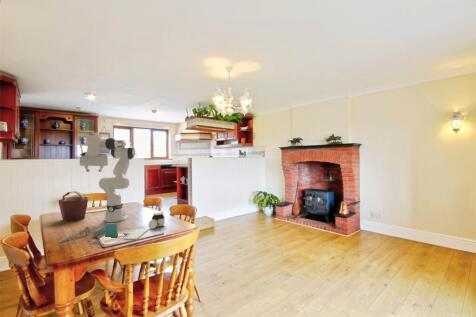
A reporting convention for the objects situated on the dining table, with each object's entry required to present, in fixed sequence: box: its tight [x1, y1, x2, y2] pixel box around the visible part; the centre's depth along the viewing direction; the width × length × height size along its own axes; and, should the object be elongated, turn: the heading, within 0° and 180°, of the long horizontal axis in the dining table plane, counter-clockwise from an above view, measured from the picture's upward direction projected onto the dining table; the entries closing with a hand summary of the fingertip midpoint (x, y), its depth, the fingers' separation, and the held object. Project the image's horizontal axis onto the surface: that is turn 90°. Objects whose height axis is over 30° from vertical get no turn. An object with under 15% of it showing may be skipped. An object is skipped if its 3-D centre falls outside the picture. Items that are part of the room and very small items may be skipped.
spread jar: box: [148, 211, 166, 230], centre depth 194 cm, size 12×11×12 cm
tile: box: [104, 222, 119, 238], centre depth 168 cm, size 2×8×10 cm, turn 90°
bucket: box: [58, 191, 89, 222], centre depth 218 cm, size 24×22×25 cm
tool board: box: [123, 228, 149, 241], centre depth 174 cm, size 20×9×1 cm, turn 0°
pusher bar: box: [92, 224, 105, 238], centre depth 177 cm, size 16×3×5 cm, turn 0°
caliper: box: [58, 226, 91, 244], centre depth 168 cm, size 20×1×6 cm, turn 154°
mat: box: [89, 232, 129, 246], centre depth 166 cm, size 22×16×1 cm
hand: (94, 171), depth 182 cm, fingers open, 8 cm apart
